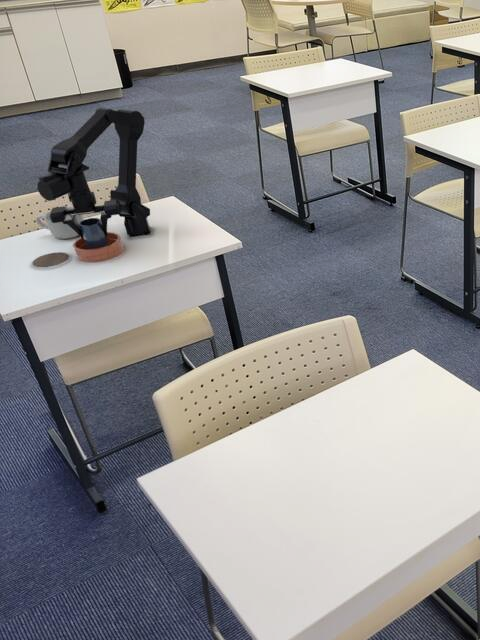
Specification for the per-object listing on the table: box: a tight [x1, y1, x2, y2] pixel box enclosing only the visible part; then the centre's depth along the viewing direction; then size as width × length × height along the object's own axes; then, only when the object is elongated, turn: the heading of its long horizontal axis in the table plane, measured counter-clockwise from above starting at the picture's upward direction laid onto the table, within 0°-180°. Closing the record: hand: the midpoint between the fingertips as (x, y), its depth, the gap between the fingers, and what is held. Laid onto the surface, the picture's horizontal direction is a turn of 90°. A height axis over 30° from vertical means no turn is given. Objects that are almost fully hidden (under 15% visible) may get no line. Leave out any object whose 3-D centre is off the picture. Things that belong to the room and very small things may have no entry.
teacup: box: [35, 206, 85, 240], centre depth 226 cm, size 14×11×8 cm
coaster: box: [32, 251, 70, 268], centre depth 213 cm, size 10×10×1 cm
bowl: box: [72, 231, 125, 263], centre depth 216 cm, size 13×13×4 cm
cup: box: [79, 217, 108, 249], centre depth 213 cm, size 6×6×8 cm
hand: (95, 237), depth 213 cm, fingers closed on cup, 6 cm apart
